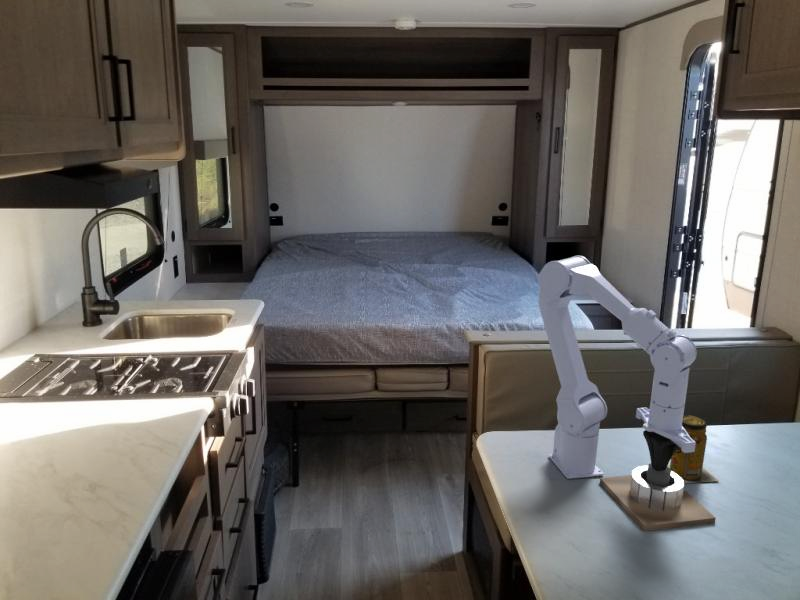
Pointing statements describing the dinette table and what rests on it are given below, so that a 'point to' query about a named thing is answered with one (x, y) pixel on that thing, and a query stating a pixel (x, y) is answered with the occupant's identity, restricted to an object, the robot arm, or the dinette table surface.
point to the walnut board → (652, 518)
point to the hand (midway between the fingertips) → (658, 469)
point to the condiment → (692, 454)
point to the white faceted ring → (656, 491)
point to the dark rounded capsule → (658, 476)
